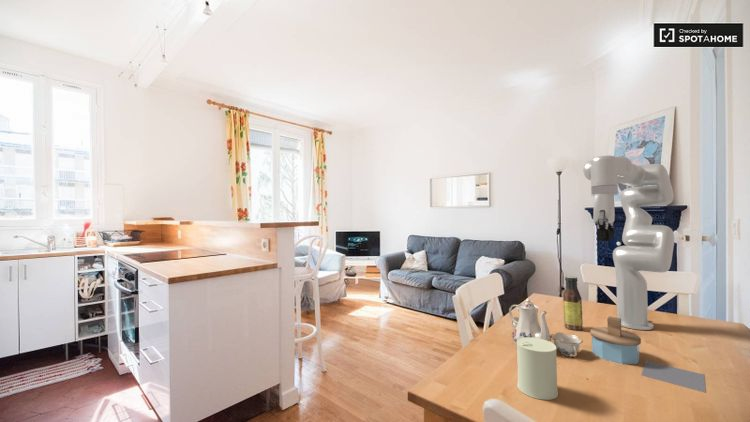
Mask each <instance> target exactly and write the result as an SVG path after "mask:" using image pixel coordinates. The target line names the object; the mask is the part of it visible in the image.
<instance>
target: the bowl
mask: <svg viewBox="0 0 750 422" xmlns="http://www.w3.org/2000/svg"><path fill="white" fill-rule="evenodd" d="M591 347H592V348H591V351H592V352H591V353H593V354H594V355H596V356H598V357H599V358H601V359H602V360H604V361H605V360H606V361H610V362H614V363H617V364H621V365H637V364H638V363H639V362H640V344H639V345H636V346H624V345H617V344H611V343H607V342H604V341H601V340H598V339H596V338H594V337H593V336H592V335H591Z"/></svg>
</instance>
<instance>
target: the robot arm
mask: <svg viewBox="0 0 750 422" xmlns="http://www.w3.org/2000/svg"><path fill="white" fill-rule="evenodd" d="M582 171H583V175H584V177H585V179H587V180H589V181H590V187H591V188H590V191H591V197H593V217H592V218H593V219H592V220H593V223H594V224H597V226H596V227H597V228H596V230H597V232H596V233H597V238H596V239H597V240H596V241H599V242H609V241H610V240H614V239H615V228H614V222H615V215H616V214H615V196H618V195H619V190H618V186H619V185H618V184H621V185H625V186H629V187H627V188H624V189H623V190H622V191H621V192H620V195H619V198H620V204H621V207H622V209H623V212H624V214H625V223H624V227H623V230H622V231H623V232H622V236H621V237H622V238H621V240H622V242H623V244H624V245H621V246H617V247H615V248H614V249H613V251H612V260H613V264H614V269H615V277H616V278H615V279H616V280H615V281H616V284H615V285H616V315H617V316H616V317H617V318H621V327H623V328H626V329H632V330H640V331H650V330H654V324H653V323H651V322H649V311H648V310H649V306H648V283H647V280H646V278H645V277H644V275H643V274H641V272H642V271H643V272H648V273H649V272H650V273H651V272H652V273H666V272H668V271H669V270H670V268H671V265H672V262H673V261H672V260H673V253H674V247H675V233H674V230H673V229H672V227H669V226H667V225H662V224H659V225H658V224H652V223H653V217H652V216H651V214H649V213H648V212H647V211H646V210H645V209H643V208H641V207H652V206H653V207H655V206H657V207H660V206H668V205H671V204H672V203H673V201H674V198H675V196H674V195H675V194H674V190H673V186H672V182H671V178H670V175H669V173H668V170H667V169H666V167H665V166H664V165H663V164H661V163H650V164H640V165H639V164H638V165H637V164H634V163H632V161H631V160H630V159H629V158H628V157H627V156H622V155H621V156H615V155H599V156H595V157H593V158H592V159H591V160H588V161H587V162H586V163H585V164H584V166H583V170H582Z"/></svg>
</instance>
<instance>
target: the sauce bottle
mask: <svg viewBox="0 0 750 422" xmlns="http://www.w3.org/2000/svg"><path fill="white" fill-rule="evenodd" d="M564 280H565V290H564V291H563V293H562V298H563V300H562V308H563V324H564V327H565V328H566V329H568V330H572V331H573V330H574V331H580V330H582V329H583V324H584V323H583V301H582V295H581V294H580V291H579V289H578V277H577V276H569V275H568V276H565V279H564Z"/></svg>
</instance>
